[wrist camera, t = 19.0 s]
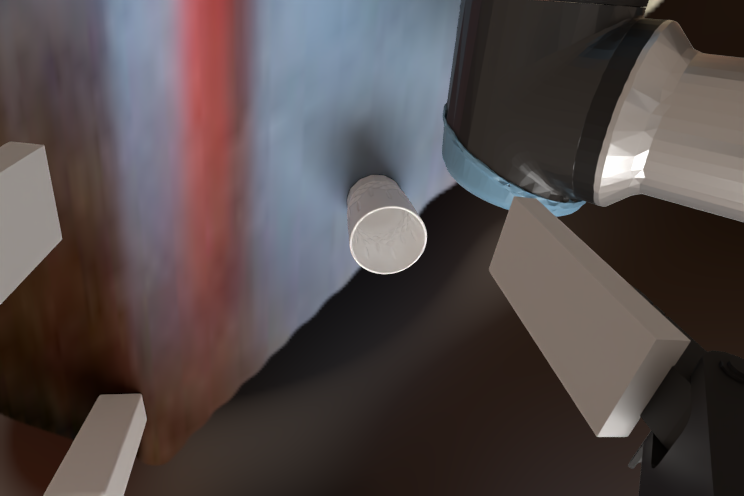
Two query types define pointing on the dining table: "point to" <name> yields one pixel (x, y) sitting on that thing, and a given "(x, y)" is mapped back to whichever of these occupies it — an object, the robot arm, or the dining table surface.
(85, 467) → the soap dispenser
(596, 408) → the robot arm
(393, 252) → the white cup
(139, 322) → the dining table surface
